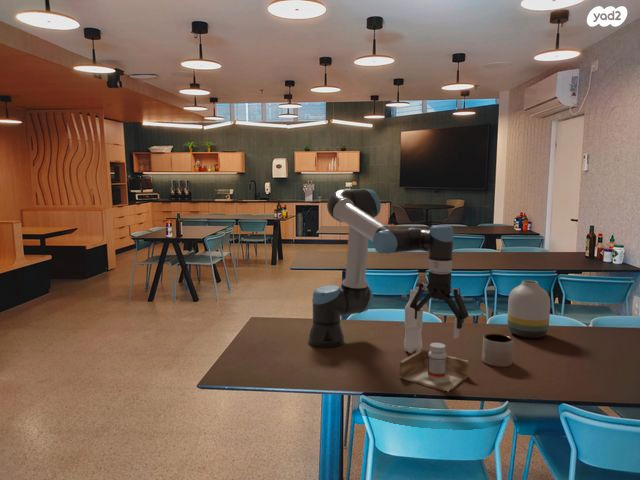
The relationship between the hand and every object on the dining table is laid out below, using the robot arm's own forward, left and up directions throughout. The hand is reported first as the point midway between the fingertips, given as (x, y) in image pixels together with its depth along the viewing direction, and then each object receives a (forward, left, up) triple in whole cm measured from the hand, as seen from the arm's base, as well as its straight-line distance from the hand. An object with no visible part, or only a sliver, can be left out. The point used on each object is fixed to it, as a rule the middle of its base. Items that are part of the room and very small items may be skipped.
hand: (437, 333), depth 161 cm
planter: (+11, +29, -17) cm, 35 cm away
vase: (+10, +70, -17) cm, 73 cm away
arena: (-1, +1, -16) cm, 16 cm away
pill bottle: (0, 0, -16) cm, 16 cm away
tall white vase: (-19, +19, -17) cm, 32 cm away
